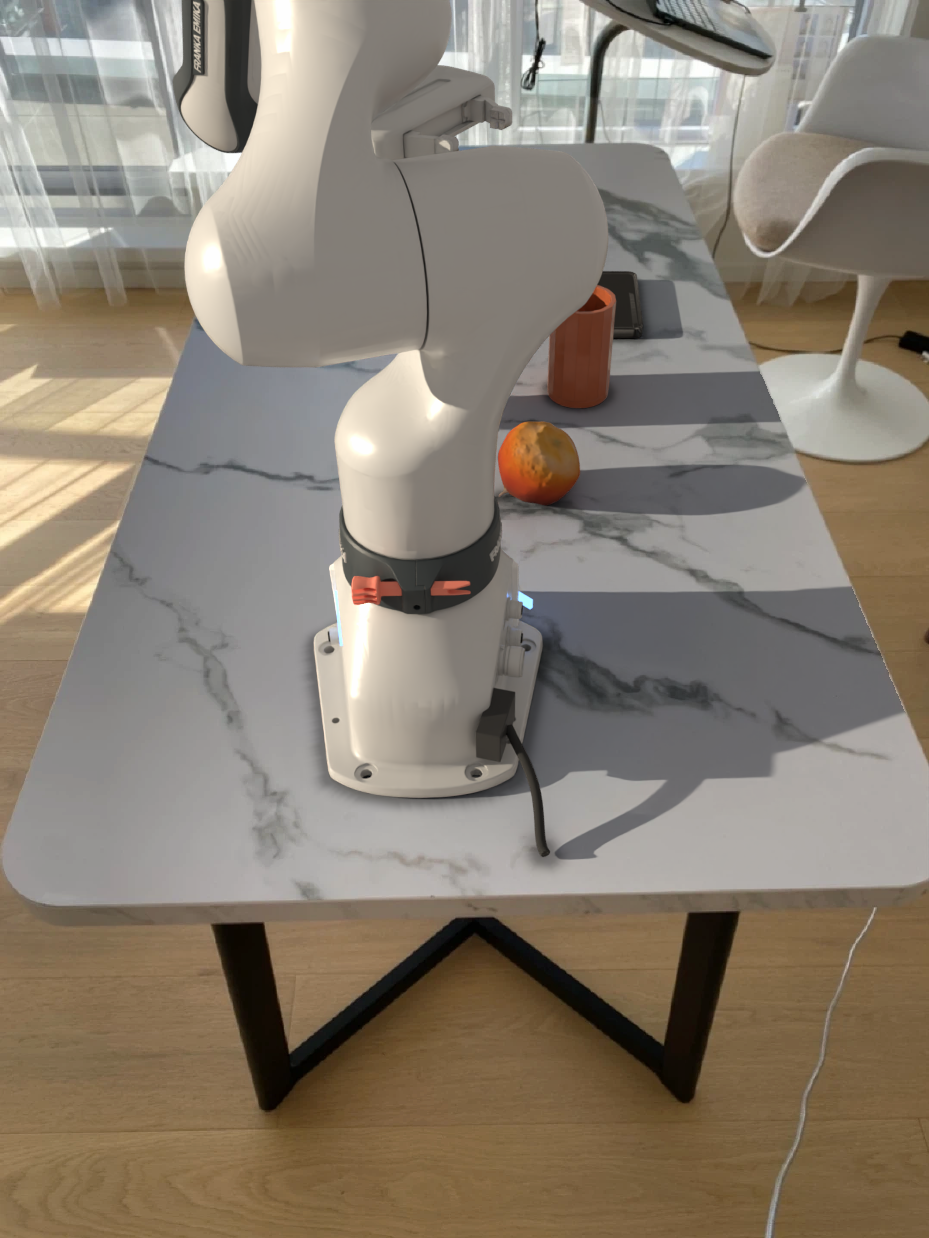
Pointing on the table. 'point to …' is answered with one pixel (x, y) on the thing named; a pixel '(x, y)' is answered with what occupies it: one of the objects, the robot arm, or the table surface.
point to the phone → (624, 302)
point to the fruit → (538, 463)
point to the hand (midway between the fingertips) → (482, 134)
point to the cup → (583, 353)
